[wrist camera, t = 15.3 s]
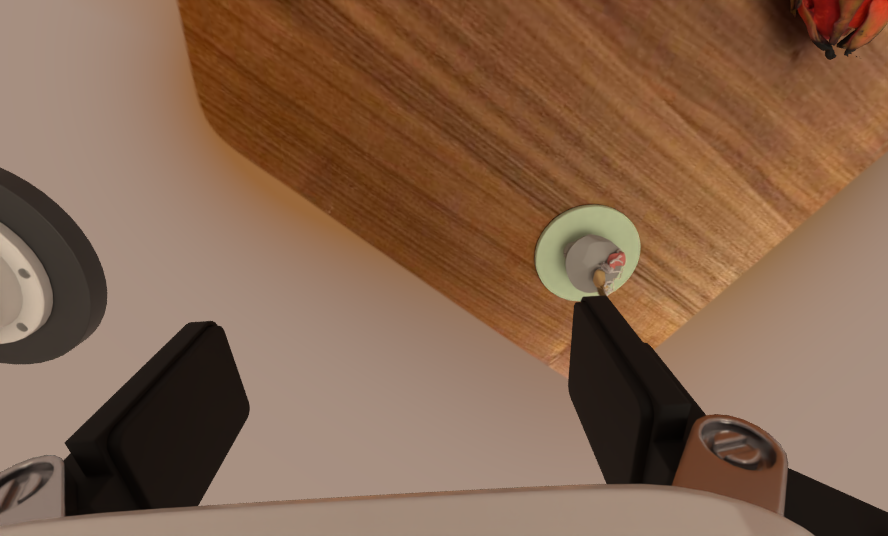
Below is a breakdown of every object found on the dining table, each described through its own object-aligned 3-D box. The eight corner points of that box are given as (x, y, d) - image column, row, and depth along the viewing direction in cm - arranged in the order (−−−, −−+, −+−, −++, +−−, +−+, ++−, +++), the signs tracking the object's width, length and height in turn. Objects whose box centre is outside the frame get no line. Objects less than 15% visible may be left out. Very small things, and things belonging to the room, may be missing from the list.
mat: (534, 301, 36) (535, 305, 35) (534, 208, 32) (536, 210, 32) (631, 294, 35) (634, 298, 35) (643, 200, 32) (646, 202, 31)
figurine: (549, 242, 33) (569, 275, 27) (602, 216, 32) (633, 244, 26) (574, 293, 35) (598, 333, 29) (625, 269, 34) (659, 306, 28)
